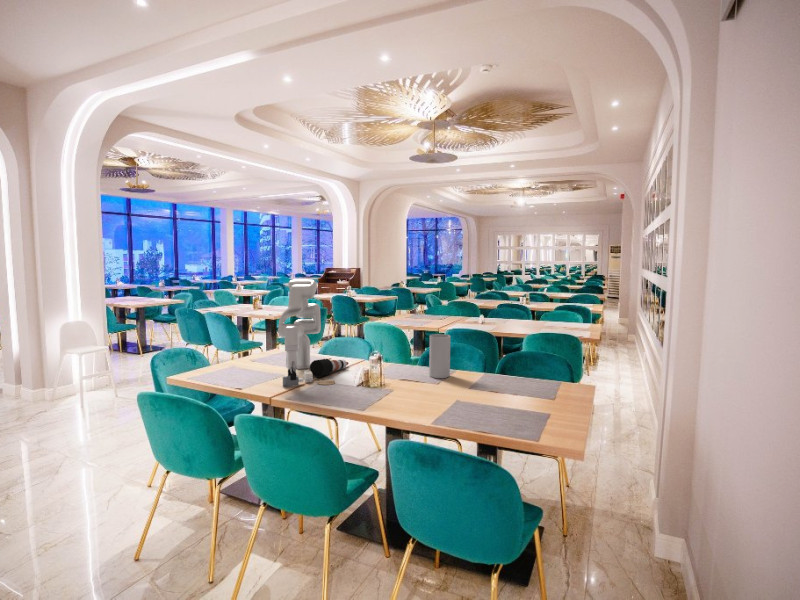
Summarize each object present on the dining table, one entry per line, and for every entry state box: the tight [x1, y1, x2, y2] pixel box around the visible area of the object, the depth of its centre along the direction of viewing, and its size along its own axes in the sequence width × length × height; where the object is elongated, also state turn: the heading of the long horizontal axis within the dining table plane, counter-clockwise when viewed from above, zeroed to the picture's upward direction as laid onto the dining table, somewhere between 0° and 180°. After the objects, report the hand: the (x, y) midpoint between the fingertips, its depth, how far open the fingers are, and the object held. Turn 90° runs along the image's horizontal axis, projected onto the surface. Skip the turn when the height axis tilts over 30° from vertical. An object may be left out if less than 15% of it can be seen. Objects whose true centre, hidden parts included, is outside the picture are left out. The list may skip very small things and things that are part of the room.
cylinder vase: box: [428, 333, 451, 379], centre depth 277 cm, size 12×12×25 cm
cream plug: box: [303, 369, 314, 383], centre depth 266 cm, size 11×4×5 cm, turn 21°
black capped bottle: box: [309, 358, 349, 378], centre depth 287 cm, size 10×34×10 cm, turn 154°
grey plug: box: [282, 374, 304, 388], centre depth 257 cm, size 11×4×5 cm, turn 112°
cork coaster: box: [317, 379, 336, 386], centre depth 262 cm, size 10×10×1 cm
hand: (292, 378), depth 256 cm, fingers open, 9 cm apart
